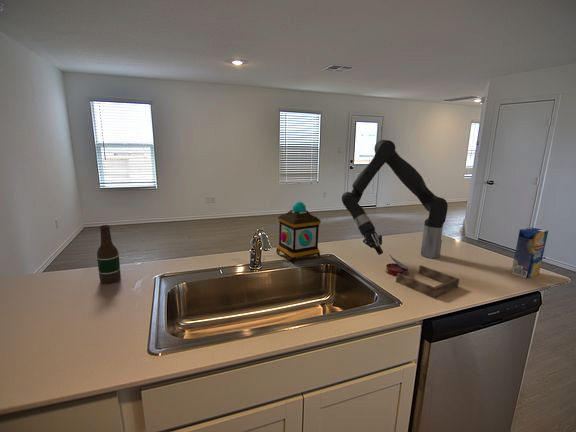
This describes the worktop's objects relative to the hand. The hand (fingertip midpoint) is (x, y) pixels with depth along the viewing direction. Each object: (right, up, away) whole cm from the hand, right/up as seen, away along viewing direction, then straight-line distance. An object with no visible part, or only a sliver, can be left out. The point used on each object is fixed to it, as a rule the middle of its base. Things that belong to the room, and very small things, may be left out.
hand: (381, 253), depth 150 cm
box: (+14, -11, -18) cm, 26 cm away
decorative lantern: (-41, -3, +13) cm, 43 cm away
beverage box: (+69, -10, -4) cm, 69 cm away
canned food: (+5, -9, -6) cm, 12 cm away
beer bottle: (-122, -9, -22) cm, 124 cm away
